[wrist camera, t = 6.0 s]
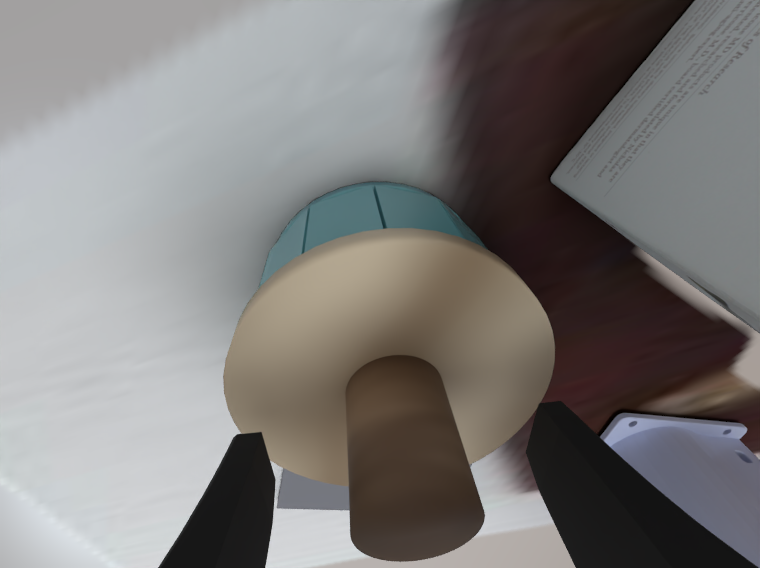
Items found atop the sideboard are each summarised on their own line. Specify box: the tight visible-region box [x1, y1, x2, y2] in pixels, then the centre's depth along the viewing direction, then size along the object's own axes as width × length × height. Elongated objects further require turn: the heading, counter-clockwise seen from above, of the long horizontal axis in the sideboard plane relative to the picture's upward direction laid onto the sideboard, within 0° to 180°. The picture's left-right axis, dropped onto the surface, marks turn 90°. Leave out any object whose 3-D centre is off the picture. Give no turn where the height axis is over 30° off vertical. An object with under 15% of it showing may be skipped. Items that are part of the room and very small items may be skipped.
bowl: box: [258, 182, 487, 289], centre depth 15 cm, size 9×9×5 cm
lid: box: [223, 228, 555, 562], centre depth 11 cm, size 10×10×5 cm
